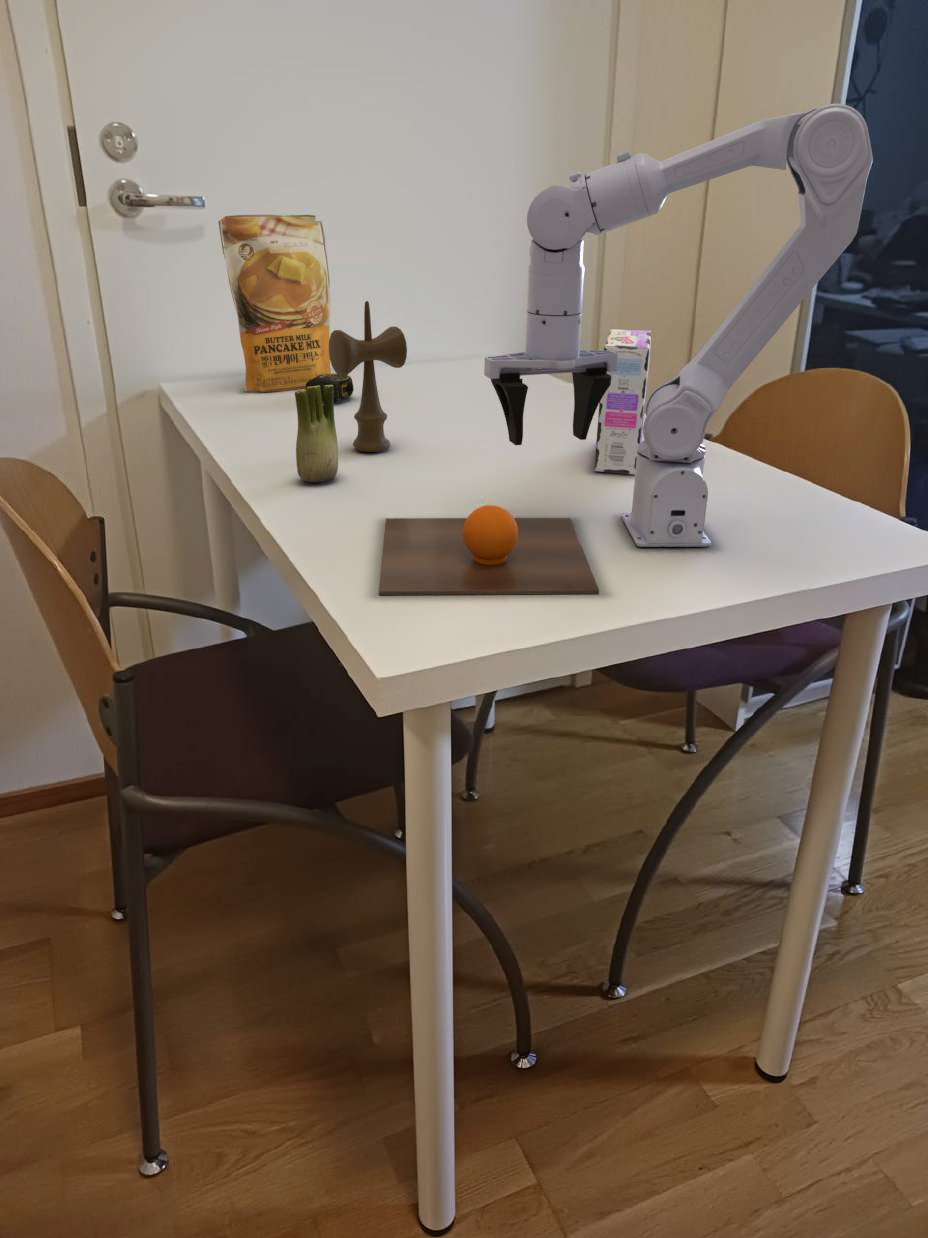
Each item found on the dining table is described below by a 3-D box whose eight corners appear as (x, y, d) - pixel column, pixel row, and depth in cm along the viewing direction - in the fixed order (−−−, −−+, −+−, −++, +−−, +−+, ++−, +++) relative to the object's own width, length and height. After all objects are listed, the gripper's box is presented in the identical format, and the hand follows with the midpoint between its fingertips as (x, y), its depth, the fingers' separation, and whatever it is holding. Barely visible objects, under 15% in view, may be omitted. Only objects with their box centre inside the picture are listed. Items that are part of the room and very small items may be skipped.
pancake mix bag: (228, 388, 168) (211, 214, 156) (329, 377, 177) (321, 212, 165) (240, 396, 163) (224, 216, 151) (344, 384, 172) (337, 214, 159)
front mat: (598, 593, 92) (599, 590, 92) (379, 595, 91) (378, 591, 91) (570, 521, 110) (570, 517, 110) (386, 521, 109) (386, 518, 109)
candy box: (638, 476, 126) (650, 346, 118) (593, 472, 127) (602, 344, 119) (642, 447, 138) (653, 328, 131) (600, 444, 139) (609, 326, 132)
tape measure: (304, 400, 161) (302, 377, 159) (332, 392, 166) (331, 370, 164) (334, 406, 157) (333, 383, 156) (362, 398, 162) (361, 376, 161)
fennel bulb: (336, 472, 126) (331, 379, 120) (346, 483, 121) (342, 388, 116) (292, 477, 124) (285, 383, 118) (300, 488, 120) (294, 391, 114)
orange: (519, 569, 97) (521, 516, 94) (463, 569, 96) (464, 516, 94) (514, 548, 102) (516, 497, 99) (461, 548, 101) (462, 497, 99)
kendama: (331, 449, 135) (323, 300, 126) (391, 439, 140) (387, 295, 131) (350, 459, 131) (344, 306, 122) (412, 449, 135) (410, 300, 127)
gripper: (502, 320, 95) (498, 455, 101) (634, 314, 99) (623, 444, 105) (478, 310, 101) (476, 437, 107) (604, 304, 105) (595, 428, 111)
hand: (547, 440), depth 106 cm, fingers open, 7 cm apart
